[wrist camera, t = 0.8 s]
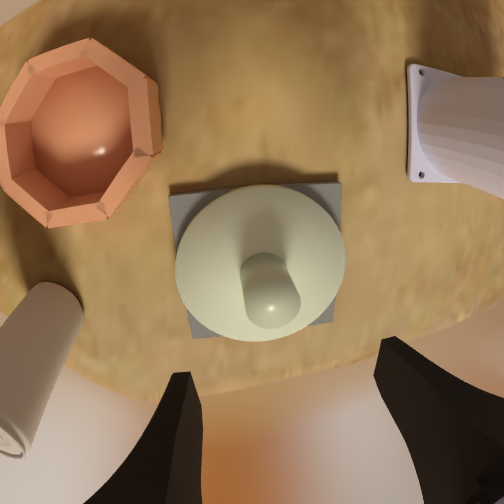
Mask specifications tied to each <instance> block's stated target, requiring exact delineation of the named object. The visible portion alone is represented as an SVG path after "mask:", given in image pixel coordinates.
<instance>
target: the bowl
mask: <svg viewBox="0 0 504 504" xmlns="http://www.w3.org/2000/svg"><path fill="white" fill-rule="evenodd" d="M161 130H162V116H161V109H160V105H159V95H158V84H156V82H155V81H154V80H153V79H151V78H150V77H149V76H147V75H146V74H145V73H143V72H142V71H141V70H139V69H138V68H136V67H135V66H134V65H132V64H131V63H129V62H128V61H127V60H125V59H124V58H122V57H121V56H119V55H118V54H117V53H115V52H114V51H112V50H111V49H109V48H108V47H106V46H104V45H103V44H101V43H99V42H98V41H96V40H95V39H93V38H92V39H91V38H87V39H83V40H80V41H77V42H74V43H71V44H68V45H65V46H62V47H59V48H56V49H54V50H51V51H48V52H46V53H43V54H41V55H38V56H36V57H33V58H31V59H29V60H28V62H26V63H25V64H24V66H23V67H22V69H21V71H20V72H19V74H18V76H17V77H16V79H15V81H14V82H13V84H12V86H11V88H10V90H9V91H8V93H7V95H6V97H5V99H4V101H3V103H2V105H1V107H0V183H1V187H4V188H3V191H4V192H6V193H7V194H8V195H9V196H10V197H11V198H12V199H13V200H14V201H15V202H17V203H18V204H19V205H20V206H21V207H22V208H23V209H25V210H26V211H27V212H28V213H29V214H30V215H32V216H33V217H34V218H35V219H36V220H37V221H39V222H40V223H41V224H42V225H43V226H45V227H48V228H54V227H60V226H67V225H73V224H80V223H86V222H93V221H100V220H107V219H108V218H110V217H111V216H112V215H113V214H114V213H115V212H116V211H117V210H118V209H119V208H120V207H121V206H122V205H123V204H124V203H125V202H126V200H127V199H128V197H129V196H130V194H131V193H132V192H133V190H134V189H135V187H136V186H137V185H138V183H139V182H140V181H141V179H142V178H143V176H144V175H145V174H146V172H147V171H148V170H149V168H150V167H151V166H152V165H153V163H154V162H155V161H156V159H157V158H158V157H159V155H160V154H161V153H162V151H161V150H162V149H163V143H162V133H161Z"/></svg>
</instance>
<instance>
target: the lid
mask: <svg viewBox="0 0 504 504" xmlns="http://www.w3.org/2000/svg"><path fill="white" fill-rule="evenodd" d="M344 270H345V248H344V243H343V239H342V236H341V233H340V231H339V229H338V227H337V225H336V224H335V222H334V220H333V219H332V217H331V216H330V215H329V214H328V213H327V212H326V211H325V210H324V209H323V208H322V207H321V206H320V205H319V204H317V203H316V202H315V201H314V200H313V199H311V198H310V197H308V196H306V195H305V194H303V193H301V192H298V191H296V190H294V189H291V188H287V187H284V186H279V185H271V184H256V185H249V186H244V187H240V188H237V189H233V190H231V191H229V192H226V193H224V194H222V195H220V196H218V197H217V198H215V199H213V200H212V201H210V202H209V203H208V204H207V205H205V206H204V207H203V208H202V209H201V210H200V211H199V212H198V213H197V214H196V215H195V216H194V217H193V219H192V220H191V222H190V223H189V224H188V226H187V228H186V230H185V232H184V233H183V235H182V238H181V241H180V244H179V247H178V251H177V256H176V261H175V277H176V284H177V287H178V291H179V294H180V296H181V298H182V301H183V303H184V304H185V306H186V307H187V309H188V310H189V312H190V313H191V314H192V315H193V316H194V317H195V318H196V319H197V320H198V321H199V322H200V323H201V324H203V325H204V326H205V327H207V328H208V329H210V330H212V331H214V332H215V333H217V334H220V335H222V336H225V337H228V338H232V339H235V340H242V341H268V340H273V339H278V338H281V337H285V336H287V335H290V334H292V333H295V332H297V331H299V330H301V329H302V328H304V327H306V326H307V325H309V324H310V323H312V322H313V321H314V320H315V319H316V318H318V317H319V316H320V315H321V314H322V313H323V312H324V311H325V310H326V309H327V307H328V306H329V305H330V303H331V302H332V301H333V299H334V297H335V296H336V294H337V292H338V290H339V287H340V285H341V282H342V279H343V276H344Z"/></svg>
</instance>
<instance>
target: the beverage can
mask: <svg viewBox="0 0 504 504" xmlns="http://www.w3.org/2000/svg"><path fill="white" fill-rule="evenodd" d="M83 323H84V315H83V310H82V308H81V306H80V304H79V301H78V300H77V298H76V297H75V296H74V294H72V293H71V292H70V291H69V290H68V289H66V288H64V287H63V286H60V285H58V284H56V283H51V282H41V283H38V284H37V285H35V286H34V287H33V288H32V289H31V290H30V291H29V293H28V294H27V295H26V296H25V297H24V299H23V300H22V301H21V302H20V303H19V305H18V306H17V307H16V308H15V310H14V311H13V312H12V313H11V315H10V316H9V317H8V318H7V320H6V321H5V322H4V324H3V325H2V326H1V328H0V453H1V454H3V455H5V456H7V457H11V458H14V459H23V458H24V457H25V454H26V451H27V450H29V449H30V448H31V445H32V442H33V440H34V437H35V434H36V431H37V429H38V425H39V423H40V420H41V418H42V415H43V413H44V410H45V407H46V405H47V402H48V400H49V397H50V395H51V393H52V390H53V388H54V384H55V383H56V381H57V378H58V376H59V374H60V371H61V369H62V367H63V365H64V363H65V361H66V359H67V357H68V354H69V352H70V350H71V348H72V346H73V344H74V342H75V340H76V338H77V336H78V334H79V332H80V330H81V328H82V326H83Z"/></svg>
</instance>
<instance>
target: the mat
mask: <svg viewBox="0 0 504 504" xmlns="http://www.w3.org/2000/svg"><path fill="white" fill-rule="evenodd" d="M274 185H279V186H284V187H287V188H291V189H294V190H296V191H298V192H301V193H303V194H305V195H306V196H308V197H310V198H311V199H313V200H314V201H315V202H316V203H317V204H319V205H320V206H321V207H322V208H323V209H324V210H325V211H326V212H327V213H328V214H329V215H330V216H331V217H332V219H333V220H334V222H335V224H336V225H337V227H338V229H339V231H340V216H341V183H340V182H338V181H332V182H309V183H290V184H274ZM237 188H240V187H234V188H223V189H212V190H202V191H193V192H183V193H175V194H170V195H169V196H168V198H169V205H170V213H171V220H172V226H173V233H174V240H175V246H176V252H177V251H178V247H179V244H180V241H181V238H182V235H183V233H184V232H185V230H186V228H187V226H188V224H189V223H190V222H191V220H192V219H193V217H194V216H195V215H196V214H197V213H198V212H199V211H200V210H201V209H202V208H203V207H204V206H205V205H207V204H208V203H209V202H210V201H212V200H213V199H215V198H217V197H218V196H220V195H222V194H224V193H226V192H229V191H231V190H233V189H237ZM334 303H335V297H334V299H333V301H332V302H331V303H330V305H329V306H328V307H327V309H326V310H325V311H324V312H323V313H322V314H321V315H320V316H319V317H318V318H316V319H315V320H314V321H313V322H312V323H310V324H309V325H307V326H310V325H317V324H323V323H329V322H333V313H334ZM186 308H187V307H186ZM187 313H188V318H189V323H190V327H191V332H192V337H193V339H195V338H207V337H219V336H222V335H220V334H217V333H215V332H214V331H212V330H210V329H208V328H207V327H205V326H204V325H203V324H201V323H200V322H199V321H198V320H197V319H196V318H195V317H194V316H193V315H192V314H191V313H190V312H189V310H188V309H187Z"/></svg>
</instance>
